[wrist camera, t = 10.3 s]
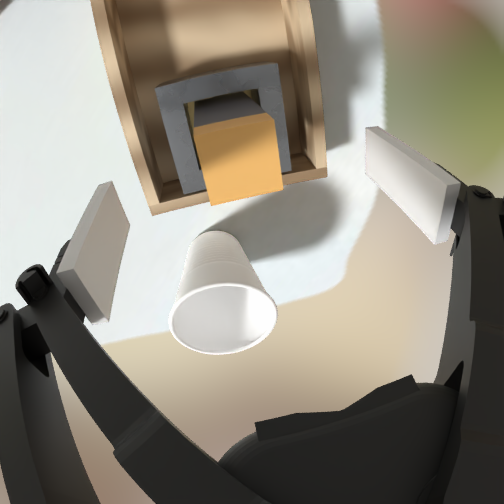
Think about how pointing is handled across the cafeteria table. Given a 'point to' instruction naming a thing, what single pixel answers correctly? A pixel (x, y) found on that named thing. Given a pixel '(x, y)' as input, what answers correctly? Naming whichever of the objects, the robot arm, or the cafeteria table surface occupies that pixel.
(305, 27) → the tray
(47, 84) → the cafeteria table surface
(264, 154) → the connector
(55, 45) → the cafeteria table surface
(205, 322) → the cup
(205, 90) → the frame
